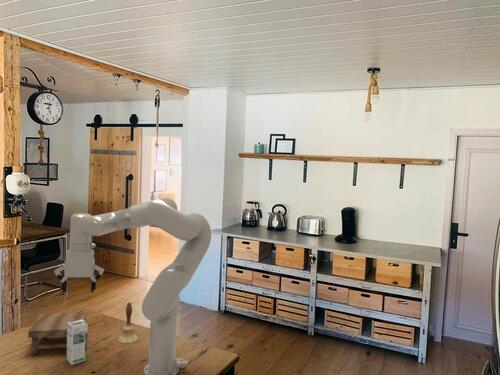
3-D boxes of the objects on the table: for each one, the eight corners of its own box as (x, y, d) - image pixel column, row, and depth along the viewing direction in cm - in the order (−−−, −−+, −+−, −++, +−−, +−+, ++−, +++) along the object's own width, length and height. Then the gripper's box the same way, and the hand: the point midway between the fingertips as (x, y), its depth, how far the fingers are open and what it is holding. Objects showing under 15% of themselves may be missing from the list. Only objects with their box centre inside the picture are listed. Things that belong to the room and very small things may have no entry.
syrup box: (71, 365, 145) (72, 326, 145) (65, 359, 150) (67, 321, 149) (87, 361, 149) (88, 323, 149) (81, 355, 154) (82, 318, 153)
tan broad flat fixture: (85, 335, 172) (86, 312, 171) (78, 354, 154) (79, 328, 154) (40, 337, 167) (40, 314, 167) (27, 357, 150) (28, 331, 149)
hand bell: (114, 342, 166) (115, 305, 166) (123, 334, 174) (125, 299, 174) (132, 345, 165) (134, 307, 164) (141, 337, 173) (142, 301, 172)
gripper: (106, 244, 154) (104, 288, 154) (57, 244, 149) (56, 289, 150) (104, 248, 146) (102, 294, 147) (53, 248, 142) (51, 295, 143)
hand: (78, 291), depth 149 cm, fingers open, 9 cm apart
